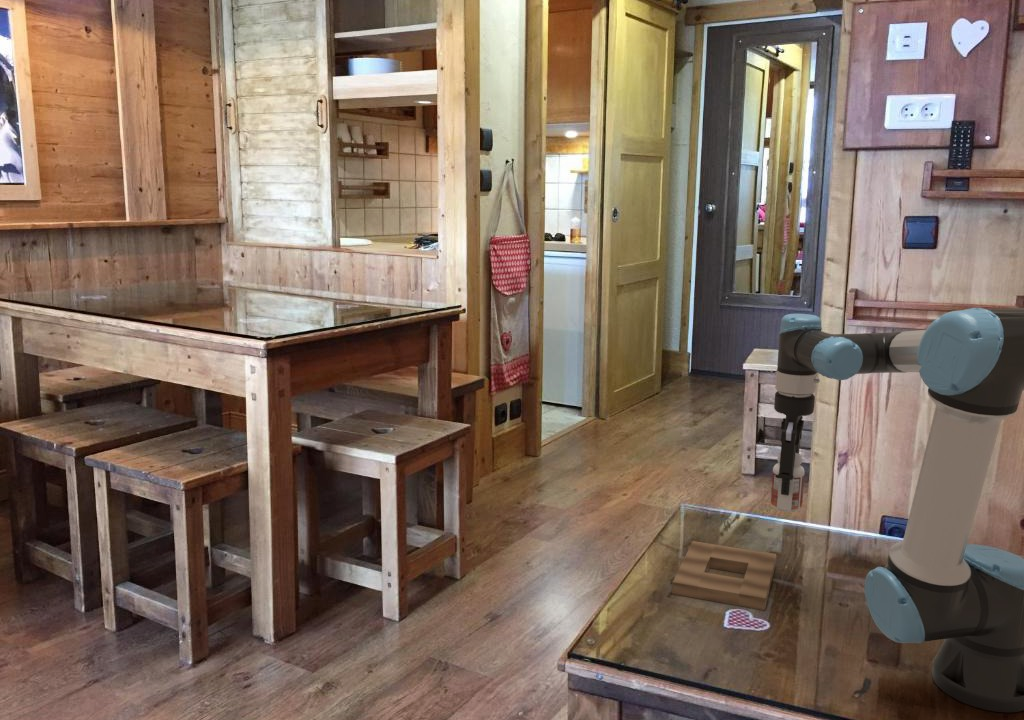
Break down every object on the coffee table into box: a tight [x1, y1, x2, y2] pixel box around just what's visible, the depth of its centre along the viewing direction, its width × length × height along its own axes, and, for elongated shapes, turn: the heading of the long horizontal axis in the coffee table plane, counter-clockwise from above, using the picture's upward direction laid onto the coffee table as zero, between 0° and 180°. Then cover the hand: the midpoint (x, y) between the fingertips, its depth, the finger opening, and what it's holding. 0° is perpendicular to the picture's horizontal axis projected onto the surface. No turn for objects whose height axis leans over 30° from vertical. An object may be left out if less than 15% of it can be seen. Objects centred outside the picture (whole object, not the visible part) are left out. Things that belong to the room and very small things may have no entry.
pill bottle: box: [770, 451, 806, 513], centre depth 176 cm, size 6×6×11 cm
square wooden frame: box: [671, 540, 777, 611], centre depth 182 cm, size 22×18×2 cm
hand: (786, 502), depth 177 cm, fingers closed on pill bottle, 6 cm apart
